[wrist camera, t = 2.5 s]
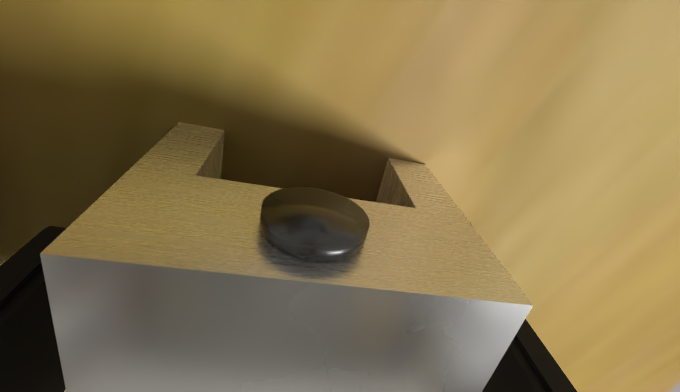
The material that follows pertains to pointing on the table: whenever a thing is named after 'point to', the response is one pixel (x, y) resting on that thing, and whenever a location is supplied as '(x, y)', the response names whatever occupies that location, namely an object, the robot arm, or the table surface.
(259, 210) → the block
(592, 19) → the table surface
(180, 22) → the table surface
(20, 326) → the robot arm
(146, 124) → the table surface
